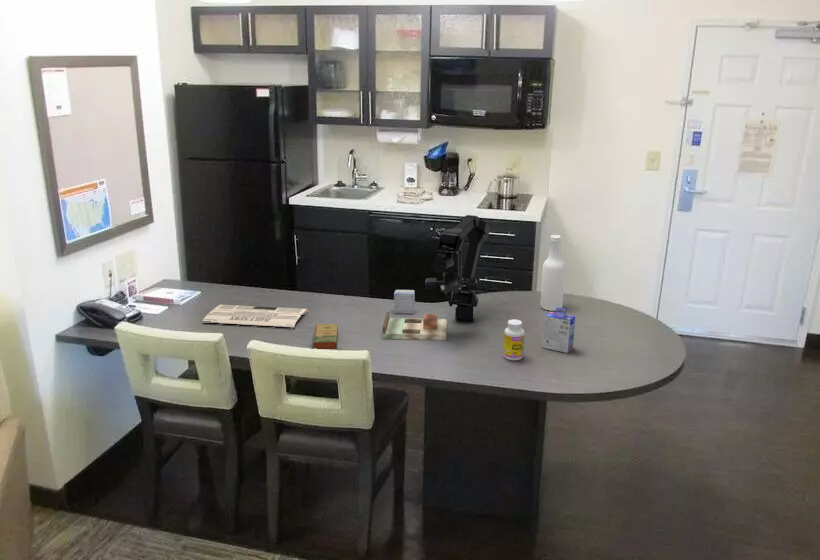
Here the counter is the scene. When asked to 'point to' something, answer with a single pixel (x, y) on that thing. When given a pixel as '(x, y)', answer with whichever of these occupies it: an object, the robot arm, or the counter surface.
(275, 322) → the newspaper
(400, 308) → the medicine box
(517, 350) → the supplement bottle
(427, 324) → the block
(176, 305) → the counter surface
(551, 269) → the alcohol
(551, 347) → the ink cartridge box
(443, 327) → the trap board
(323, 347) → the carton
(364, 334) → the counter surface
